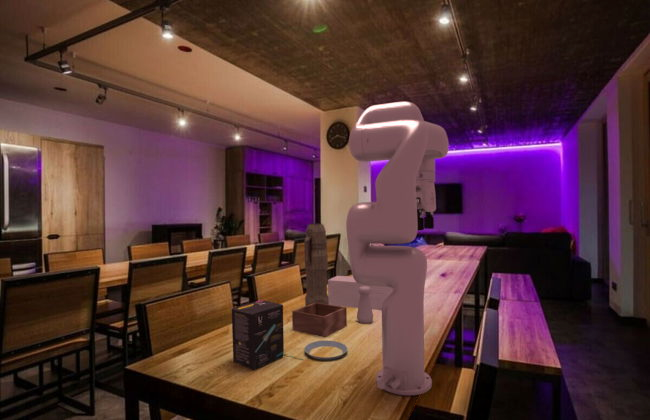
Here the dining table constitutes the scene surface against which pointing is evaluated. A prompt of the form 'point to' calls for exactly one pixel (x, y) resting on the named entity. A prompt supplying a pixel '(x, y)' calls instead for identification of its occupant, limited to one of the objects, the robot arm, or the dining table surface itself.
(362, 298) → the salt shaker
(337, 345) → the saucer
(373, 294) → the pink rectangular block
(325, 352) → the dining table surface
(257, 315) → the tampon box
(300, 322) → the box
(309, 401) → the dining table surface
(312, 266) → the thermos
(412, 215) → the robot arm
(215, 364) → the dining table surface
